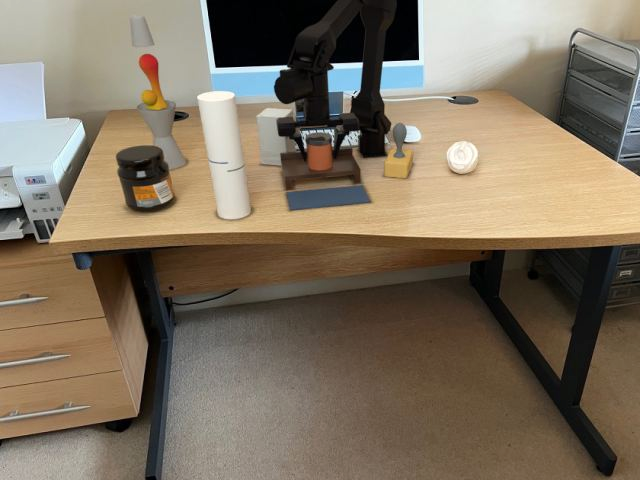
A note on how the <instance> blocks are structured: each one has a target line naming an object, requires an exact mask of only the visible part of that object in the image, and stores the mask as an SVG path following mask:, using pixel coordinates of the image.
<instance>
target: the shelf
mask: <svg viewBox="0 0 640 480" xmlns="http://www.w3.org/2000/svg"><path fill="white" fill-rule="evenodd" d="M353 152H354V150H353V147H352V146H350V147H349V146H348V147H347V146H346V147H340V149H339V152H338V155H337V157H336V159H334V155H333V148H332V159H333V166H332V167H331V168H330V169H327V170H312V169H310V168H309V167H308V161H307V150H305V154H306V161H304V159H303V157H302V154H301V152H300V150H296V152H284V153H280V158H281V167H280V168H281V174H282V178H283V183H284V188H285V190H286V191H290V190H291V191H292V190H293V189H294V187H293V181H299V180H309V179H320V178H323V179H324V178H333V177H345V176H350V178H351V180H352V183H353V184H354V185H356V184H361V181H362V179H361V177H362V176H361V175H362V174H361V168H360V165H359V164H358V162H357V160H356V158H355V156H354V153H353Z"/></svg>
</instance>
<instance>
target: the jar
mask: <svg viewBox="0 0 640 480" xmlns="http://www.w3.org/2000/svg"><path fill="white" fill-rule="evenodd" d="M304 138H305V146H306V147H305V148H306V151H307V161H308V167H309V168H310V169H312V170H327V169H330V168H331V167H332V166H333V159H332V149H333V135H332V134H331V133H329V132H321V131H318V132H311V133H308V134H306V135H305V137H304Z"/></svg>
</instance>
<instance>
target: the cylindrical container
mask: <svg viewBox="0 0 640 480" xmlns="http://www.w3.org/2000/svg"><path fill="white" fill-rule="evenodd" d="M196 98H197V104H198V109H199V117H200V121H201V127H202V132H203V138H204V139H203V140H204V143H205V149H206V150H205V151H206V155H207V161H208V167H209V172H210V177H211V183H212V188H213V194H214V200H215V201H214V202H215V206H216V212H217V216H218V217H220V218H221V219H225V220H238V219H242V218H245V217H247V216H248V215H250V214H251V212H252V208H251V207H252V206H251V200H250V192H249V186H248V185H249V184H248V179H247V171H246V165H245V157H244V156H245V155H244V150H243V142H242V136H241V129H240V120H239V115H238V106H237V100H236V94H235V93H234V92H231V91H227V90H214V91H213V90H212V91H206V92H202V93H200V94H198V95H197V96H196Z"/></svg>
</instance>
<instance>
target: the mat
mask: <svg viewBox="0 0 640 480" xmlns="http://www.w3.org/2000/svg"><path fill="white" fill-rule="evenodd" d="M286 197H287V202H288V206H289V210H290V211H299V210H307V209H308V210H309V209H319V208H329V207H340V206H350V205H359V204H360V205H361V204H370V203H371V200H370V198H369V195H368V193H367V192H366V189H365V187H364V186H363V184H361V185H349V186H338V187H329V188H327V187H326V188H315V189H303V190H294V191H286Z"/></svg>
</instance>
